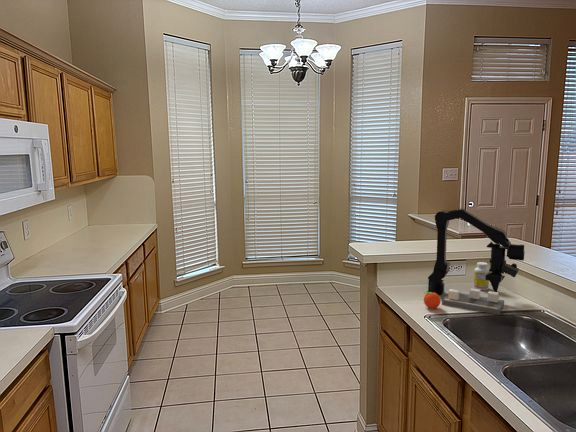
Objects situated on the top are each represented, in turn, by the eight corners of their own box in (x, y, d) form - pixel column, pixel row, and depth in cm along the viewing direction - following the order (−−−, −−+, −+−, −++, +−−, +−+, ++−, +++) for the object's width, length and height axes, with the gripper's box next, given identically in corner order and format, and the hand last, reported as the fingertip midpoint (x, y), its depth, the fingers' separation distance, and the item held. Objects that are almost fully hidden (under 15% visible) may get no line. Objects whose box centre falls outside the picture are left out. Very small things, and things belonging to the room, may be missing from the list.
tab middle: (469, 297, 193) (469, 290, 192) (470, 295, 195) (471, 288, 195) (478, 299, 191) (479, 291, 190) (480, 297, 193) (480, 289, 192)
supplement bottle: (475, 285, 217) (476, 260, 216) (489, 288, 214) (491, 262, 212) (472, 289, 212) (473, 263, 210) (486, 291, 208) (488, 265, 206)
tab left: (448, 298, 192) (448, 290, 192) (450, 296, 195) (450, 288, 194) (457, 300, 190) (458, 292, 189) (459, 298, 192) (459, 290, 192)
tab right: (487, 300, 189) (487, 292, 188) (488, 298, 191) (489, 291, 191) (497, 302, 186) (497, 294, 186) (498, 300, 189) (499, 292, 188)
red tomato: (419, 309, 186) (420, 293, 185) (422, 303, 192) (422, 288, 191) (439, 311, 183) (439, 295, 182) (441, 306, 189) (441, 290, 188)
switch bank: (441, 304, 191) (442, 299, 191) (450, 295, 203) (450, 291, 203) (498, 314, 179) (499, 309, 178) (504, 304, 190) (504, 300, 190)
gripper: (515, 265, 179) (512, 301, 182) (520, 255, 195) (518, 289, 197) (486, 261, 186) (484, 296, 188) (493, 252, 201) (491, 285, 203)
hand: (495, 291), depth 194 cm, fingers closed
